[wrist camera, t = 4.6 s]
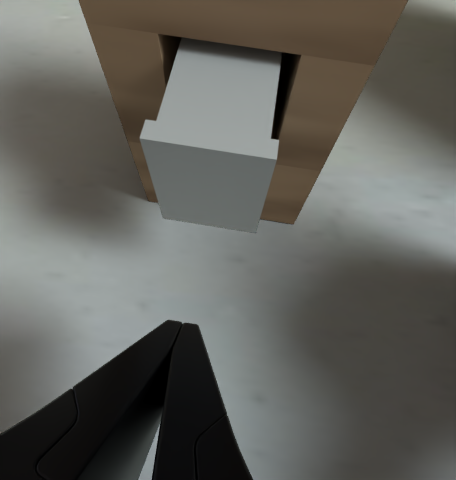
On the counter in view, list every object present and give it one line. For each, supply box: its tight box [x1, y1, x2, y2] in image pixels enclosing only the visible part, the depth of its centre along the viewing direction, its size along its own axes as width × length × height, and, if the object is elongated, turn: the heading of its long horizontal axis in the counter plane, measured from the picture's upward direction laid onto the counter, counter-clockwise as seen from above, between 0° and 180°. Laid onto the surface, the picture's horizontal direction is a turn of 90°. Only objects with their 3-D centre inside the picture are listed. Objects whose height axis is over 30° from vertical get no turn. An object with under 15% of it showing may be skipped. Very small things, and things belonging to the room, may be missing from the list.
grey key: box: [140, 37, 282, 233], centre depth 12 cm, size 8×3×4 cm, turn 171°
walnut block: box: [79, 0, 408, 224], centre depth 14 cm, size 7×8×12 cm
